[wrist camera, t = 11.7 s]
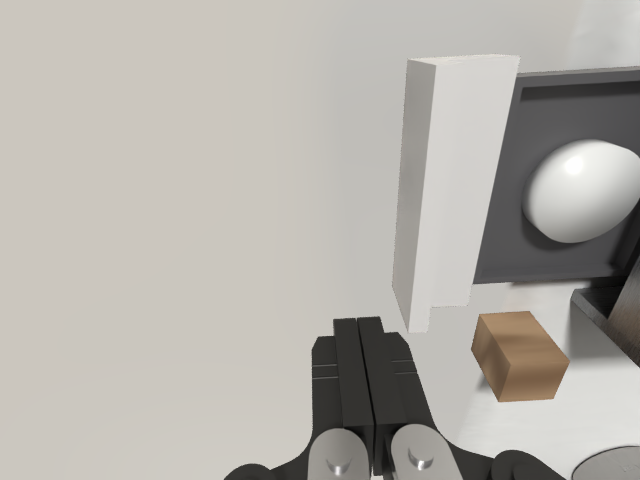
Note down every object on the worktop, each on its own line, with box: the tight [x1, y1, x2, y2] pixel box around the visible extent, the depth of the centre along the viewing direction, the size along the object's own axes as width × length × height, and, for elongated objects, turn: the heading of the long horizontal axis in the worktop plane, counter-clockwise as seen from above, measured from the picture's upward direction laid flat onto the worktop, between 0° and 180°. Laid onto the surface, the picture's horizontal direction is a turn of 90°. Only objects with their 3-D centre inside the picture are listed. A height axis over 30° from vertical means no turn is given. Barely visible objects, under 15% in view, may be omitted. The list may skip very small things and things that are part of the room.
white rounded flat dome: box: [521, 139, 640, 243], centre depth 21 cm, size 6×6×2 cm
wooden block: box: [471, 311, 570, 402], centre depth 27 cm, size 4×4×5 cm
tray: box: [392, 54, 640, 333], centre depth 20 cm, size 15×18×5 cm
